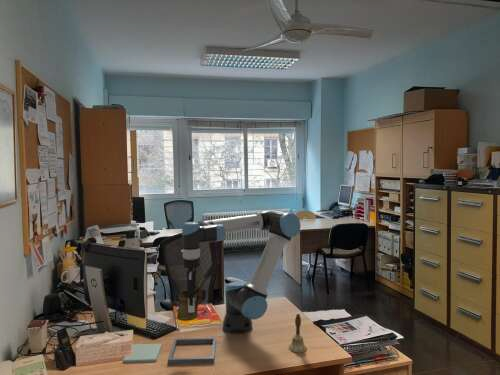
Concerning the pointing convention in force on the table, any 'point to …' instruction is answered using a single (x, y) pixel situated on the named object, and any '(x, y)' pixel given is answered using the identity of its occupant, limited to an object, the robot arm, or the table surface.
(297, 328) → the hand bell
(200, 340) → the frame
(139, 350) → the coaster
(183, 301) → the wooden mug
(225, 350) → the table surface
